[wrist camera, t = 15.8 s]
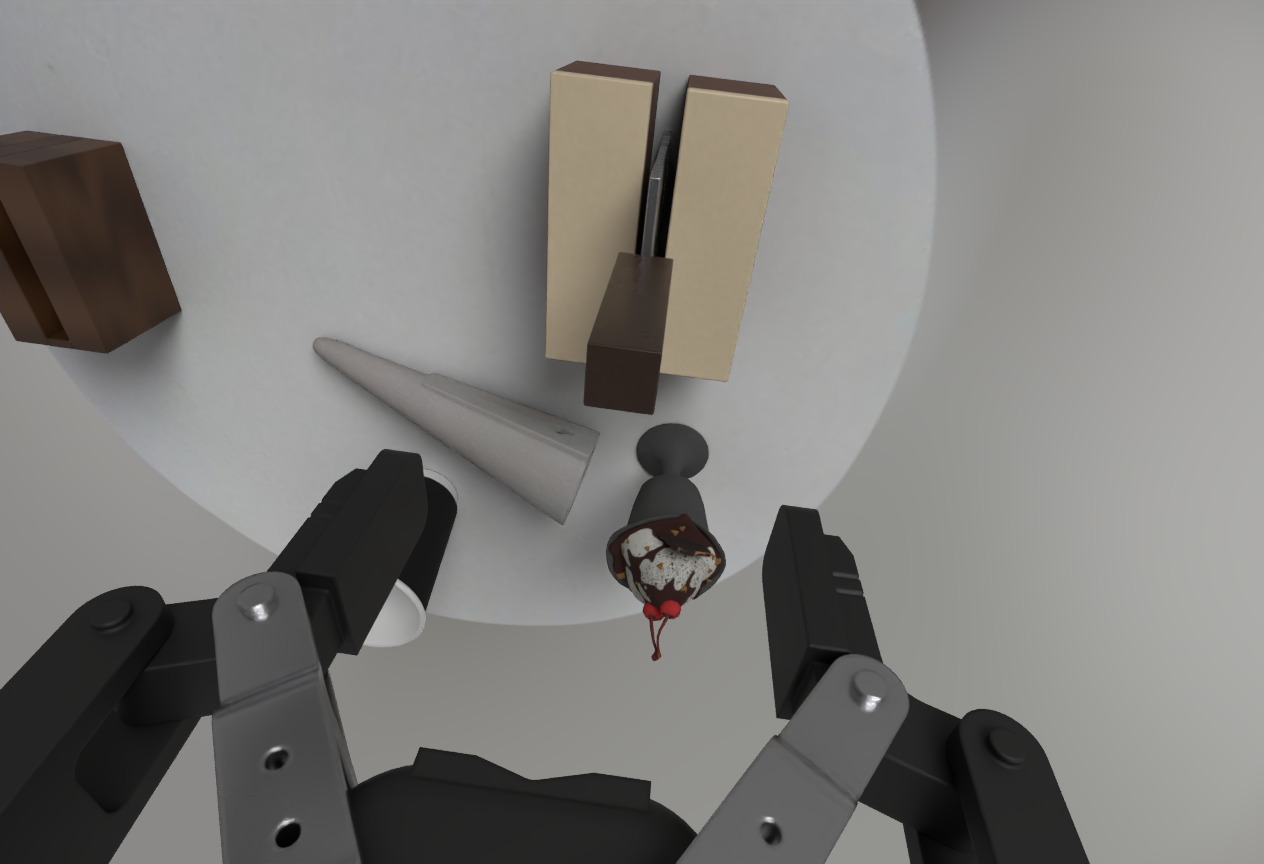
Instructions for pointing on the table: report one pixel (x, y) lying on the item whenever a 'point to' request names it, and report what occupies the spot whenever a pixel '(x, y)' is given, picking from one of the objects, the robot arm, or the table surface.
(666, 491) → the sundae
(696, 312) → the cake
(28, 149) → the knife stand
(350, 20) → the table surface
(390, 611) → the dixie cup
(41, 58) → the table surface
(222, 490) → the table surface
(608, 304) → the knife
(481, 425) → the long tapered cone
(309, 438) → the table surface
